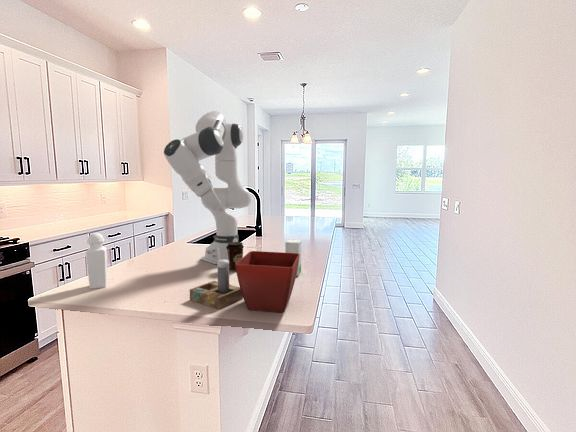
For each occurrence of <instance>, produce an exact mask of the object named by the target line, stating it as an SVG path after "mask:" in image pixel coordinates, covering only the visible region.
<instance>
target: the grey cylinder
mask: <svg viewBox="0 0 576 432" xmlns="http://www.w3.org/2000/svg"><path fill="white" fill-rule="evenodd" d="M217 263H218V264H217V282H218V293H220V294H226V293H229V285H230V270H229V260H225V259H223V260H218V261H217Z"/></svg>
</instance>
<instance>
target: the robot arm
mask: <svg viewBox="0 0 576 432" xmlns="http://www.w3.org/2000/svg"><path fill="white" fill-rule="evenodd" d="M243 141H244V131H243V127H242V126H241V125H240V124H237V123H227V122H226V118H225V116H224V115H223V113H221V112H220V111H216V110H213V111H209V112H206V113H205V114H203V115H202V116H201V117H200V118H199V119H198V121H197V122H196V125H195V132H194V133H193V134H190V135H188V136H186V137H183V138H181V139H178V138H177V139H173V140H171V141H170V142H168V143H167V144H166V145H165V147H164V150H163V155H164V158H165V159H166V160H167V162H168V164H169V165H170V167H171V168H172V169H173V171H175V173H176V174H178V175H179V176H180V177H181V179H182V181H183V182H184V183H185V185H186V186H187V187H188V189H190V190H191V192H193V193H194V194H195V195H196V197H197V198H200V200H201V201H200V202H201V204H202V205H203V207H204V208H206V209H207V210H208V211H210V213H211V215H212V216H213V217H214V221H215V228H216V229H215V230H216V234H215V235H214V236H212V238H213V242H211V243H210V244H209V245H208V246H207V247H206V248H205V251H204V255H202V256H201V257H200V260H201V261H202V260H203V261H205V262H207V263H210V264H214V265H218V263H217V261H218V260H223V259H225V260H228V251H227V249H226V247H227V246H228V243H231V242H239V234H238V220H237V218H236V217H234V216H233V215H231V214H228V213H227V212H226V210H229V209H230V210H231V209H236V210H237V209H243V208H244V209H245V208H248V206H250V204H251V202H252V195H251V193H250V191H249V190H248V189H247V188H246V187H245V186H244V185H243V184H242V183H241V181H240V179H239V176H238V163H237V161H238V159H237V156H238V155H237V150H236V149H238V147H239V146H241V144H242V143H243ZM213 156H214V161H215V162H214V166H215V167H214V168H215V169H214V171H215V172H214V173H215V177H216V178H217V179H218V180H220V181H222V182H224V183H226V184H227V187H213V185H212V181H211V179H212V177H211V175H210V174H209V173H208V171H207V170H206V168H205V167H204V166H203V165H202V164H201V163H199V162H200V161H202V160H205V159H207V158H210V157H213Z"/></svg>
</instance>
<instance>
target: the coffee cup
mask: <svg viewBox="0 0 576 432" xmlns="http://www.w3.org/2000/svg"><path fill="white" fill-rule="evenodd" d="M226 249H227V251H228V260H229V271H232V272H236V266H235V264H236V263H237V262H238V261H239V260H240V259H242V258H243V257H244V243H243V242H242V241H238V242H231V243H228V246H227V247H226Z"/></svg>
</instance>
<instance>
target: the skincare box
mask: <svg viewBox="0 0 576 432" xmlns="http://www.w3.org/2000/svg"><path fill="white" fill-rule="evenodd" d="M284 246H285V252H284V253H298V254H300V256H299V263H298V269H297V274H296V277H299V276H300V274H301V273H302V240H301V239H288V240H286V241H285V245H284Z"/></svg>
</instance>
